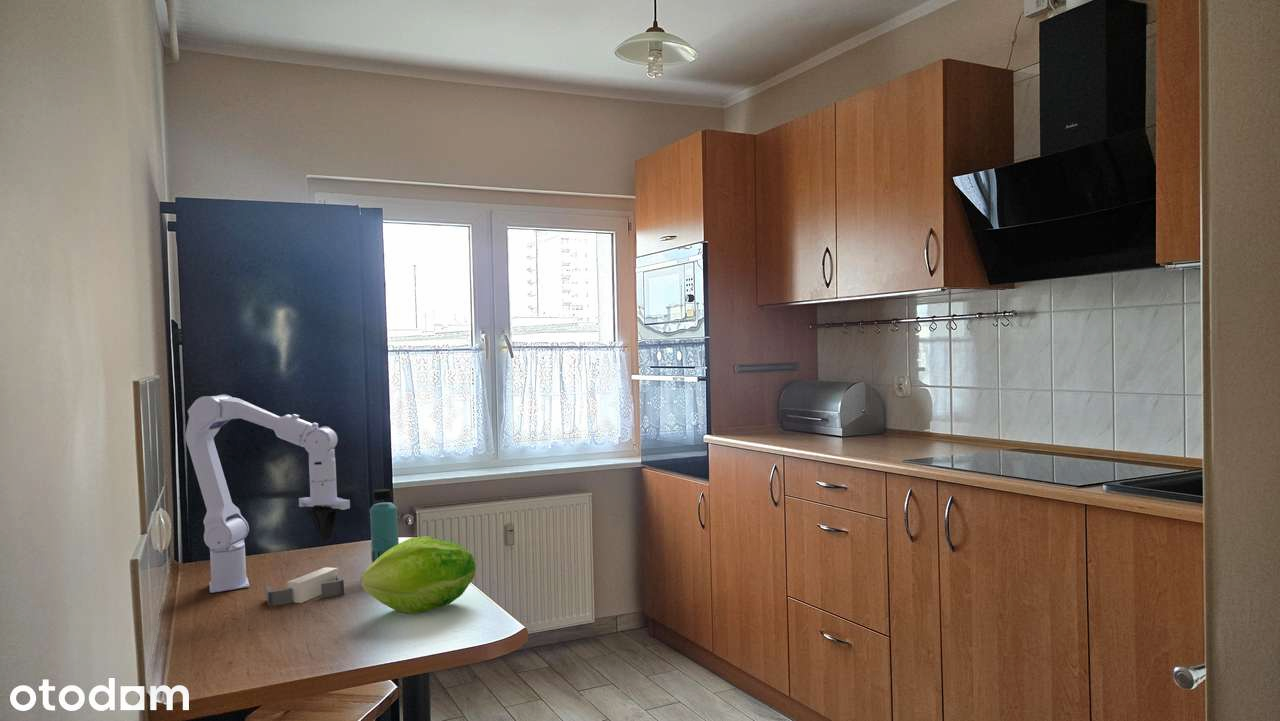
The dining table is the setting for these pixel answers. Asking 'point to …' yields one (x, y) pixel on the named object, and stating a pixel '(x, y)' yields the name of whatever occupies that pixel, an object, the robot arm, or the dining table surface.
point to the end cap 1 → (278, 596)
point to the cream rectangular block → (311, 584)
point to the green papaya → (420, 574)
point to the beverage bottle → (383, 524)
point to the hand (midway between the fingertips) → (325, 539)
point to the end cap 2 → (333, 587)
